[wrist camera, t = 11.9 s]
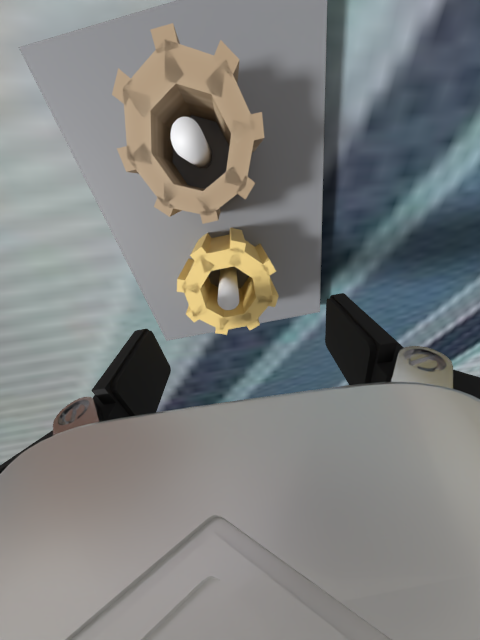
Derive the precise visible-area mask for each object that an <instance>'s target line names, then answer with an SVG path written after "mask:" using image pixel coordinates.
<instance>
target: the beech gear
mask: <svg viewBox="0 0 480 640" xmlns="http://www.w3.org/2000/svg"><path fill="white" fill-rule="evenodd" d="M151 34H152V38H153V41H154V45H155V49H156V50H155V51H154V52H153V53H152V55H151V56H150V57H149V58H148V59H147V60H146V61H145V63H144V64H143V65H142V66H141V67H140V68H139V70H138V71H137V72H136V73H135V74H134V75H133V76H132V78H129V77H128V76H127V75H126V74H125V73H123V72H122V71H121V70H120V69H119V68H118V71H117V76H116V80H115V84H114V88H113V92H112V95H113V96H114V97H116V98H117V99H118V100H119V101H121V102H122V103H123V104H124V114H125V128H126V142H127V146H125V147H121V148H117V150H118V153H119V155H120V158H121V160H122V163H123V165H124V167H125V170H126V172H131V173H138V174H140V176H141V177H142V178H143V179H144V181H145V182H146V183H147V185H148V186H149V187H150V189H151V190H152V191H153V193H154V194H155V195H156V196H157V200H156V202H155V205H154V207H155V208H157V209H158V210H160V211H161V212H163V213H164V214H166V215H168V216H169V217H170V216H172V215H174V214H176V213H178V212H180V211H182V210H183V211H188V212H192V213H197V214H200V216H201V219H202V223H203V224H204V223H209V222H213V221H218V220H219V216H220V213H221V211H220V207H221V206H223V205H224V204H225V203H226V202H228V201H229V200H230V199H231V198H233V197H234V196H235V195H237V194H239V195H240V196H241V197H242V198H244V199H246V198H247V196H248V194H249V193H250V191H251V189H252V188H253V186H254V184H255V182H253V181H252V180H251V179H250V178H249V177H248V171H249V165H250V160H251V154H252V152H254V151H255V150H256V148H257V147H258V146H259V144H260V143H261V142H262V140H263V139H264V128H263V118H262V112H259V113H255V114H251V113H250V111H249V109H248V107H247V105H246V102H245V100H244V98H243V96H242V94H241V91H240V89H239V87H238V85H237V83H238V72H239V61H240V60H239V59H238V57H237V56H236V55H235V54H234V53H233V52H232V51H231V50H230V49H229V48H228V47H227V46H226V45H225V44H224V43H223V42H222V41H221V40H220V42H219V45H218V47H217V50H216V52H215V55H211V54H208V53H205V52H202V51H199V50H196V49H193V48H190V47H187V46H184V45H181V44H180V42H179V39H178V36H177V33H176V30H175V27H174V24H173V23H171V24H168V25H165V26H161V27H158V28H154V29H151ZM191 115H194V116H197V117H201V118H204V119H208V120H211V121H215V122H217V124H218V126H219V128H220V130H221V132H222V134H223V135H224V137H225V139H226V141H227V143H228V145H229V154H228V161H227V168H226V172H225V173H224V174H223V175H222V176H220V177H219V178H218V179H217V180H216V181H214V182H213V183H212V184H211V185H210V186H208V187H207V188H206V189H203V188H199V187H194V186H190V185H188V184H187V183H186V181H185V180H184V179H183V177H182V176H181V174H180V173H179V171H178V170H177V168H176V167H175V165H174V164H173V145H172V142H171V128H172V125H173V123H174V122H175V121H176V120H177V119H178V118H180V117H190V116H191Z"/></svg>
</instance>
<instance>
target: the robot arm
mask: <svg viewBox="0 0 480 640" xmlns="http://www.w3.org/2000/svg"><path fill="white" fill-rule="evenodd" d="M325 342H326V346H327V348H328V350H329V352H330V353H331V355H332V357H333V358H334V360H335V362H336V363H337V365H338V367H339V368H340V370H341V372H342V373H343V375H344V377H345V378H346V380H347V382H348V383H349V385H348V386H341V387H333V388H325V389H317V390H310V391H303V392H296V393H288V394H281V395H274V396H267V397H260V398H253V399H246V400H239V401H232V402H225V403H218V404H211V405H204V406H197V407H190V408H184V409H177V410H170V411H164V412H157V413H156V411H157V408H158V405H159V402H160V400H161V397H162V394H163V391H164V389H165V386H166V383H167V380H168V377H169V375H170V371H171V369H170V365H169V364H168V362H167V360H166V358H165V356H164V354H163V352H162V350H161V348H160V346H159V344H158V342H157V340H156V338H155V336H154V334H153V333H152V331H149V330H148V329H142V330H137V331H135V332H134V333H133V334H132V336H131V337H130V339H129V340H128V341H127V343H126V344H125V345H124V347H123V348H122V349H121V351H120V352H119V354H118V355H117V356H116V358H115V359H114V360H113V362H112V363H111V365H110V366H109V367H108V369H107V370H106V371H105V373H104V374H103V376H102V377H101V378H100V380H99V381H98V382H97V384H96V385H95V386H94V388H93V389H92V392H93V393H94V394H95V396H94V397H93V398H92V397H82V398H79V399H77V400H75V401H73V402H71V403H70V404H68V405H67V406H66V407H65V408H63V409H62V410H61V411H60V412H59V414H58V415H57V416H56V418H55V419H54V422H53V431H51V432H50V433H48V434H47V435H45V436H44V437H42V438H41V439H39V440H38V441H36V442H35V443H33V444H32V445H30V446H29V447H27V448H26V449H24V450H23V451H21V452H20V453H18V454H17V455H15V456H14V457H12V458H11V459H9V460H8V461H6V462H5V463H3V464H2V465H0V640H480V377H476V376H473V375H469V374H466V373H463V372H459V371H456V370H453V365H452V362H451V361H450V360H449V359H448V357H446V356H445V355H443V354H442V353H440V352H438V351H436V350H433V349H430V348H426V347H420V346H409V347H405V348H403V347H402V346H401V345H400V344H399V343H398V342H397V341H396V340H395V339H394V338H392V337H391V336H390V335H389V334H388V333H387V332H386V331H385V330H384V329H383V328H381V327H380V326H379V325H378V324H377V323H376V322H375V321H374V320H373V319H372V318H371V317H369V316H368V315H367V314H366V313H365V312H364V311H363V310H361V309H360V308H359V307H358V306H357V305H356V304H355V303H354V302H353V301H352V300H351V299H349V298H348V297H347V296H346V295H345V294H344V293H342V294H336V295H331V296H330V299H327V303H326V336H325Z"/></svg>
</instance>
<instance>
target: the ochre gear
mask: <svg viewBox="0 0 480 640" xmlns="http://www.w3.org/2000/svg"><path fill="white" fill-rule="evenodd" d="M190 256H191V257H192V259H188V260H187V262H186V264H185V266H184V268H183V269H182V271H181V273H180V275H179V277H178V279H177V292H183V293H185V296H186V299H187V301H188V304H189V306H188V309H187V312H186V315H187V316H188V317H189V318H190V319H191V320H192V321H193V322H196V321H197V320H199V319H200V320H202V321H204V322H206V323H208V324H210V325H212V326H214V327H216V331H215V333H219V334H226V335H227V332H228V329H233V328H238V327H244V326H247V327H248V329H249V330H251V329H253V328H255V327H257V326H259V325H260V323H259V317H260V316H261V314H262V313H263V312H264V311H265V310H266V308H267V307H268V306H271V307H275V306H276V303H277V300H278V297H279V295H278V293H277V291H276V289H275V287H274V285H273V282H272V280H271V278H270V275H271V274H273V273H274V272H276V270H275V268H274V266H273V265H272V263H271V261H270V259H269V258H268V256H267V254H266V252H265V251H264V249H263V247H262V246H261V244H258V245H257V246H256V247H254V246H253V245H252V244H250V243H249V242H247V241H246V240H245V239H244V235H243V232H242V230H239V229H235V228H230V233H229V235H224V236H219V237H215V238H211V237H210V235H209V234H208V233H207V234H205V235H204V236H203V237H201V238H200V239H199V240H198V242H197V243H196V245H195V247H194V249H193V251H192V253H191V254H190ZM233 266H234V267H236V268H238V269H239V270H241V271H242V272H244V273H245V274H247V275H249V278H248V279H247V280H246V282H245V283H244V285H243V286H242V287H241V288H239V289H238V292H239V304H238V306H237V307H236V308H235V309H232V310H224V309H222V308H221V307H220V306H219V305H218V301H217V300H218V289H219V288H218V287H217V286H215V285H213V284H211V282H210V279H209V276H208V275H209V274H210V272H211V271H214V270H218V269H223V268H228V267H233Z"/></svg>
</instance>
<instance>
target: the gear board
mask: <svg viewBox="0 0 480 640" xmlns="http://www.w3.org/2000/svg"><path fill="white" fill-rule="evenodd" d="M171 23H173V24H174V27H175V30H176V33H177V36H178V39H179V42H180V44H181V45H184V46H187V47H190V48H193V49H196V50H199V51H202V52H205V53H208V54H211V55H215V52H216V50H217V47H218V45H219V42H220V40H221V41H222V42H223V43H224V44H225V45H226V46H227V47H228V48H229V49H230V50H231V51H232V52H233V53H234V54H235V55H236V56H237V57H238V59H239V60H240V61H239V72H238V83H237V85H238V87H239V89H240V91H241V94H242V96H243V98H244V100H245V102H246V105H247V107H248V109H249V111H250V113H251V114H255V113H259V112H262V118H263V128H264V139H263V140H262V142H261V143H260V144H259V146H258V147H257V148H256V150H255V151H254V152H252V154H251V160H250V165H249V171H248V177H249V178H250V179H251V180H252V181H253V182H255V184H254V186H253V188H252V189H251V191H250V193H249V194H248V196H247V198H246V199H244V198H242V197H241V196H240V195H239V194H237V195H235V196H234V197H233V198H231V199H230V200H229V201H228V202H226V203H225V204H224V205H223V206H221V207H220V211H221V213H220V216H219V220H218V221H213V222H209V223H204V224H203V223H202V219H201V216H200V214H197V213H192V212H188V211H183V210H182V211H180V212H178V213H176V214H174V215H172V216H170V217H169V216H168V215H166V214H164V213H163V212H161V211H160V210H158V209H157V208H155V207H154V205H155V202H156V200H157V196H156V195H155V194H154V193H153V191H152V190H151V189H150V187H149V186H148V185H147V183H146V182H145V181H144V179H143V178H142V177H141V176H140V174H138V173H131V172H126V170H125V167H124V165H123V163H122V160H121V158H120V155H119V153H118V150H117V148H121V147H125V146H127V142H126V128H125V114H124V104H123V103H122V102H121V101H119V100H118V99H117V98H116V97H114V96H113V95H112V92H113V88H114V84H115V80H116V76H117V71H118V68H119V69H120V70H121V71H122V72H123V73H125V74H126V75H127V76H128V77H129V78H132V76H133V75H134V74H135V73H136V72H137V71H138V70H139V68H140V67H141V66H142V65H143V64H144V63H145V61H146V60H147V59H148V58H149V57H150V56H151V55H152V53H153V52H154V51H155V50H156V49H155V45H154V41H153V38H152V34H151V29H154V28H158V27H161V26H165V25H168V24H171ZM326 32H327V0H177V1H173V2H170V3H167V4H163V5H160V6H157V7H153V8H150V9H146V10H143V11H140V12H136V13H133V14H130V15H126V16H123V17H119V18H116V19H113V20H109V21H106V22H103V23H99V24H96V25H93V26H89V27H86V28H82V29H79V30H76V31H72V32H69V33H66V34H62V35H59V36H55V37H52V38H49V39H45V40H42V41H39V42H35V43H32V44H28V45H25V46H22V47H19V49H20V51H21V53H22V55H23V57H24V59H25V61H26V63H27V65H28V67H29V69H30V71H31V73H32V75H33V77H34V79H35V81H36V83H37V85H38V87H39V89H40V91H41V93H42V95H43V97H44V99H45V101H46V103H47V105H48V107H49V109H50V111H51V113H52V115H53V117H54V119H55V121H56V123H57V125H58V127H59V128H60V130H61V132H62V134H63V136H64V138H65V140H66V142H67V144H68V146H69V148H70V150H71V152H72V154H73V156H74V158H75V160H76V162H77V164H78V166H79V168H80V170H81V172H82V174H83V176H84V178H85V180H86V182H87V184H88V186H89V188H90V190H91V192H92V194H93V196H94V198H95V200H96V202H97V204H98V206H99V208H100V210H101V212H102V214H103V216H104V218H105V220H106V222H107V224H108V226H109V228H110V230H111V232H112V234H113V236H114V238H115V240H116V242H117V243H118V245H119V247H120V249H121V251H122V253H123V255H124V257H125V259H126V261H127V263H128V265H129V267H130V269H131V271H132V273H133V275H134V277H135V279H136V281H137V283H138V285H139V287H140V289H141V291H142V293H143V295H144V297H145V299H146V301H147V303H148V305H149V307H150V309H151V311H152V313H153V315H154V317H155V319H156V321H157V323H158V325H159V327H160V329H161V331H162V333H163V335H164V337H165V339H166V341H168V340H173V339H178V338H184V337H189V336H194V335H200V334H205V333H210V332H215V331H216V327H214V326H212V325H210V324H208V323H206V322H204V321H202V320H200V319H199V320H197V321H196V322H193V321H192V320H191V319H190V318H189V317H188V316H187V315H186V312H187V309H188V306H189V304H188V301H187V299H186V296H185V293H183V292H177V279H178V277H179V275H180V273H181V271H182V269H183V268H184V266H185V264H186V262H187V260H188V259H192V257H191V256H190V254H191V253H192V251H193V249H194V247H195V245H196V243H197V242H198V240H199V239H200V238H201V237H203V236H204V235H205V234H207V233H208V234H209V235H210V237H211V238H215V237H219V236H224V235H229V233H230V228H235V229H239V230H242V232H243V235H244V239H245V240H246V241H247V242H249V243H250V244H252V245H253V246H254V247H256V246H257V245H258V244H261V246H262V247H263V249H264V251H265V252H266V254H267V256H268V258H269V259H270V261H271V263H272V265H273V266H274V268H275V270H276V272H274V273H273V274H271V275H270V278H271V280H272V282H273V285H274V287H275V289H276V291H277V293H278V295H279V297H278V300H277V303H276V306H275V307H271V306H268V307H267V308H266V310H265V311H264V312H263V313H262V314H261V316H260V317H259V323H263V322H269V321H274V320H279V319H285V318H290V317H295V316H301V315H306V314H311V313H317V312H320V281H321V239H322V198H323V156H324V115H325V74H326ZM171 142H172V145H173V164H174V165H175V167H176V168H177V170H178V171H179V173H180V174H181V176H182V177H183V179H184V180H185V181H186V183H187V184H188V185H190V186H194V187H199V188H203V189H206V188H207V187H208V186H210V185H211V184H212V183H213V182H214V181H216V180H217V179H218V178H219V177H220V176H222V175H223V174H224V173H225V172H226V168H227V161H228V154H229V145H228V143H227V141H226V139H225V137H224V135H223V134H222V132H221V130H220V128H219V126H218V124H217V122H215V121H211V120H208V119H204V118H201V117H197V116H194V115H191V116H190V117H180V118H178V119H177V120H176V121H175V122H174V123H173V125H172V128H171ZM208 276H209V279H210V282H211V284H213V285H215V286H217V287H218V288H219V289H218V300H217V301H218V305H219V306H220V307H221V308H222V309H224V310H232V309H235V308H236V307H237V306H238V304H239V292H238V289H239V288H241V287H242V286H243V285H244V283H245V282H246V280H247V279H248V278H249V275H247V274H245V273H244V272H242V271H241V270H239V269H238V268H236V267H234V266H233V267H228V268H223V269H218V270H214V271H211V272H210V274H209V275H208Z"/></svg>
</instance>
